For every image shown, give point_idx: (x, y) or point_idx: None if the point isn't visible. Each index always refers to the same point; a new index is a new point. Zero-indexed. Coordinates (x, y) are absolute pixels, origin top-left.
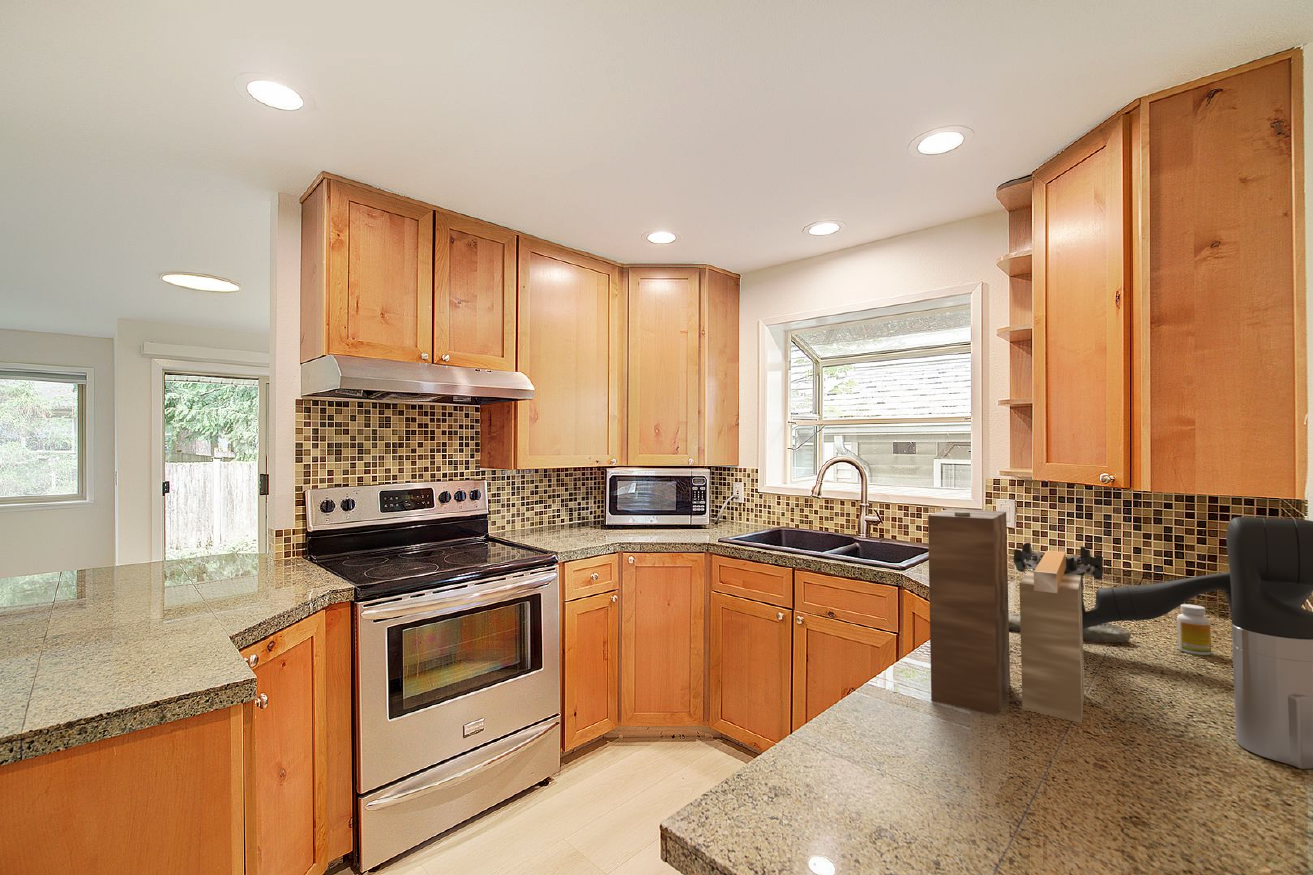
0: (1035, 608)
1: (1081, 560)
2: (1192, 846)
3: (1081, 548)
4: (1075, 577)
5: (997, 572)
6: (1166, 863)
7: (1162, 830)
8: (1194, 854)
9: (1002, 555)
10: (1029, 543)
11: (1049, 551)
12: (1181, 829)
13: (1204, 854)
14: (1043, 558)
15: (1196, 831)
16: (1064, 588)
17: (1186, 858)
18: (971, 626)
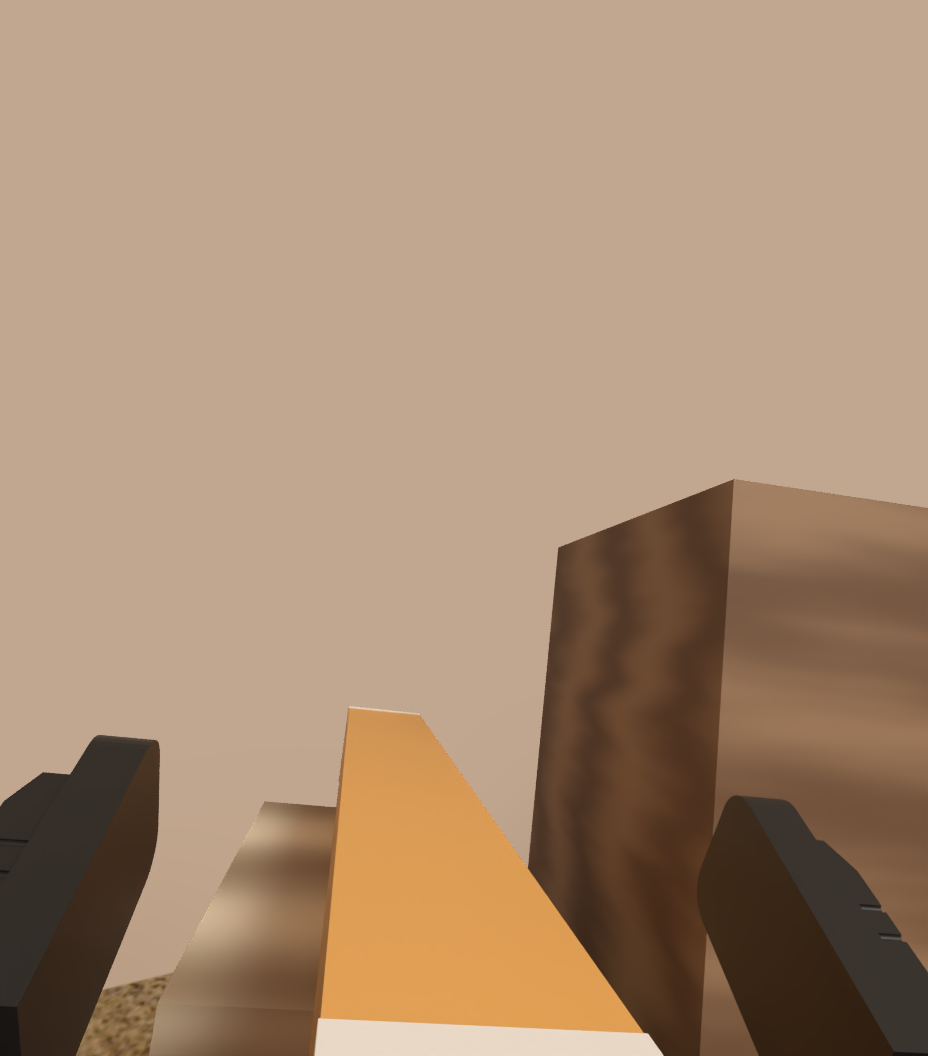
0: None
1: (101, 973)
2: (112, 1008)
3: (146, 761)
4: (231, 935)
5: (560, 773)
6: (169, 974)
7: (142, 1022)
8: (120, 996)
9: (620, 745)
10: (732, 799)
11: (582, 1015)
12: (107, 1034)
13: (104, 1000)
14: (463, 790)
15: (82, 1038)
16: (315, 808)
17: (136, 987)
18: None
